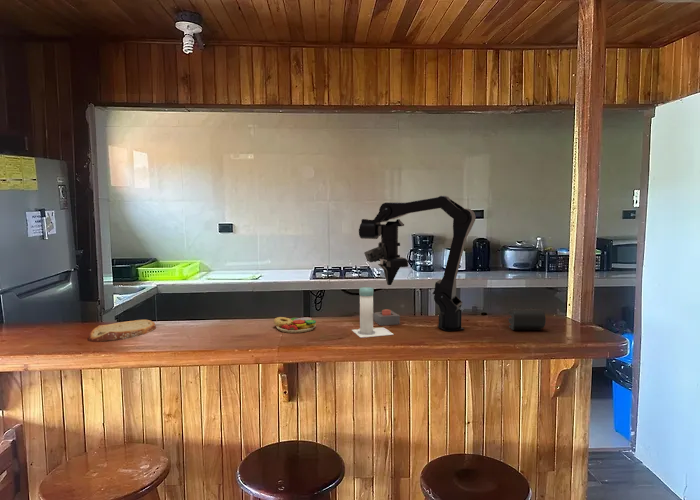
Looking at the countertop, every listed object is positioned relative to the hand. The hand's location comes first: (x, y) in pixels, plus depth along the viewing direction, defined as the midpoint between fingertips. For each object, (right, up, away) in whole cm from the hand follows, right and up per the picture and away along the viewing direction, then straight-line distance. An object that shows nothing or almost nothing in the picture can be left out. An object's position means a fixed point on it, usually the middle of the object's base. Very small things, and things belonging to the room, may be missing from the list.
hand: (389, 285), depth 170 cm
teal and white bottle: (-8, -14, -13) cm, 21 cm away
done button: (-1, -13, +1) cm, 13 cm away
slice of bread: (-85, -15, -12) cm, 87 cm away
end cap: (+44, -14, -8) cm, 47 cm away
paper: (-6, -14, -12) cm, 20 cm away
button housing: (-1, -13, +1) cm, 13 cm away
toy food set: (-31, -14, -6) cm, 35 cm away
